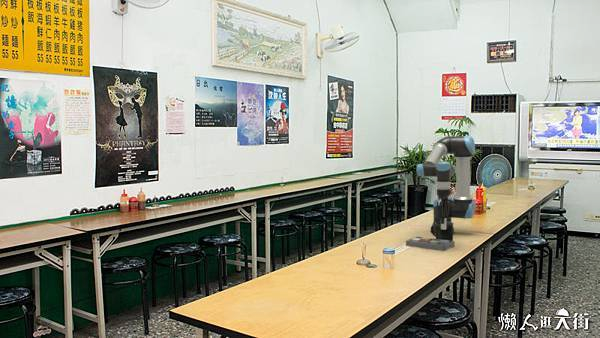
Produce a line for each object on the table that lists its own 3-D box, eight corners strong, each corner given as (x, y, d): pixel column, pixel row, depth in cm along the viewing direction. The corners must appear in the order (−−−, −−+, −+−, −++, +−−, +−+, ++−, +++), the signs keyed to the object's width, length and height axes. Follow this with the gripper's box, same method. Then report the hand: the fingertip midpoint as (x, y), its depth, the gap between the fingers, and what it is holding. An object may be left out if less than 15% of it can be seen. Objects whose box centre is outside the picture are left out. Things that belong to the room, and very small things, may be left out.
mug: (448, 245, 313) (448, 225, 312) (426, 241, 323) (426, 222, 322) (456, 241, 321) (456, 222, 320) (435, 238, 330) (435, 220, 330)
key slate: (442, 243, 304) (442, 239, 304) (449, 244, 302) (449, 240, 301) (438, 245, 301) (438, 240, 301) (445, 245, 298) (445, 241, 298)
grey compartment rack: (417, 242, 320) (417, 236, 320) (454, 247, 305) (454, 241, 304) (406, 247, 310) (406, 240, 309) (444, 252, 294) (444, 245, 294)
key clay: (423, 241, 312) (423, 237, 312) (430, 242, 309) (430, 238, 309) (420, 242, 309) (420, 238, 308) (427, 243, 306) (427, 239, 306)
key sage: (432, 244, 308) (432, 240, 308) (439, 245, 305) (439, 241, 305) (429, 245, 305) (429, 241, 305) (436, 246, 302) (436, 242, 302)
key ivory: (415, 241, 316) (415, 237, 316) (421, 242, 313) (421, 238, 313) (411, 243, 312) (411, 239, 312) (418, 244, 310) (418, 240, 309)
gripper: (442, 187, 306) (442, 226, 308) (432, 189, 296) (432, 230, 298) (454, 188, 301) (454, 228, 303) (444, 190, 292) (444, 231, 293)
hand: (443, 229), depth 301 cm, fingers closed
